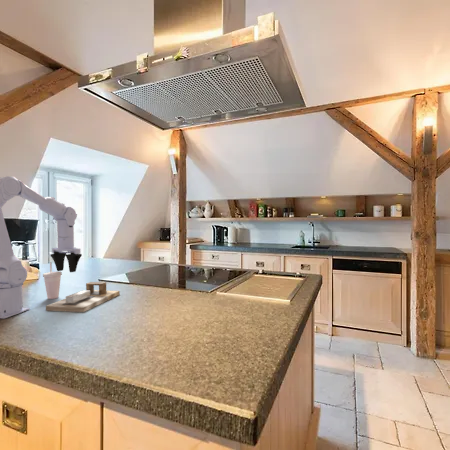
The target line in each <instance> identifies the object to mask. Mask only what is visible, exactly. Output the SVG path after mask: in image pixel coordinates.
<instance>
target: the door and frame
mask: <svg viewBox="0 0 450 450" xmlns="http://www.w3.org/2000/svg"><path fill="white" fill-rule="evenodd" d="M85 286H86V287H85V289H86V290H88V291H90V297H88V298H86V299H83V300H81V301H78V302H76V303H66V298H64V299H60V300H58V301H55V302H53V303H50V304H47V305H46V306H45V311H48V312H49V311H51V312H72V313H73V312H75V313H77V312H78V313H85V312H86V311H89V310H91V309H93V308H95V307H97V306H100V305H102V304H103V303H105V302H107V301H109V300H112V299H114V298H115V297H118V296H120V293H121V291H120V290H107V282H106V281H90V282H87V283H86V284H85ZM95 286H98V290H97V289H95Z"/></svg>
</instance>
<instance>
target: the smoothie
mask: <svg viewBox="0 0 450 450" xmlns="http://www.w3.org/2000/svg"><path fill="white" fill-rule="evenodd" d="M62 275H63V273H62V271H53V268H52V261H50V262H49V272H44V273H43V274H42V277H43V279H44V286H45V291H46V297H47V299H48V300H53V299H58V298H59V297H60V289H61V287H60V286H61V278H62Z"/></svg>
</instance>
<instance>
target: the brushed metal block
mask: <svg viewBox="0 0 450 450" xmlns="http://www.w3.org/2000/svg"><path fill="white" fill-rule="evenodd" d="M88 297H90V291H88V290H80V291H78V292H75V293H72V294H69V295H67V296H65V299H66V303H76V302H78V301H81V300H83V299H86V298H88Z"/></svg>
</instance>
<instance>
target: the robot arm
mask: <svg viewBox="0 0 450 450" xmlns="http://www.w3.org/2000/svg"><path fill="white" fill-rule="evenodd" d="M15 197H20V198H22V199H24V200H27V201H29V202H31V203H33V204H36V205H38V208H39V210H40V211H42V212H44V213H46V214H48V215H50V216H52V217H53V219H54V221H56V228H57V229H56V231H57V233H56V234H57V235H56V236H57V237H56V239H57V242H56V243H57V247H52V248H51V254H50V257H51V259H52V260H53V263H54V265H55V269H56V272H62V271H64V265H65V259H66V260H67V263H68V269H69V270H68V271H69V273H76V271H77V268H78V263H79V261H80V259H81V257H82V256H83V255H82V253H81V248H78V247H75V235H74V234H75V232H74V227H75V226H74V225H75V223H76V222H75V221H76V219H77V216H78V214H77V213H76V209H74V208H73V207H71V206H66V204H65V203H61V202H59V201H57V200H56V198H55V197H54V196H45V197H44V196H43V195H41V194H40V193H38V192H37V191H36V190H34V189H32V188H31V187H29V186H27V185H26V184H25V183H24V182H23V181H22V180H20V179H17V177H15V176H12V175H10V176H9V175H8V176H7V175H6V176H2V177H0V319H3V320H5V319H8V318H10V317H12V316H15V315H18V314H21V313H23V312H26V311H29V310H30V307H24V306H23V305H24V304H23V303H24V302H23V300H24V299H23V285H24V283H25V281H27V278H28V271H27V269H26V268H25V266H24V265H23V264H22V261H21V259H19V258H18V257H17V256H16V255H15V254H14V250H13V245H12V243H11V242H12V241H11V239H10V236H9V232H8V229H7V224H6V220H5V218H4V214H3V210H2V208H3V206H4V205H5V204H6V203H7V201H10V200H11V199H13V198H15ZM65 257H66V258H65Z"/></svg>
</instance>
